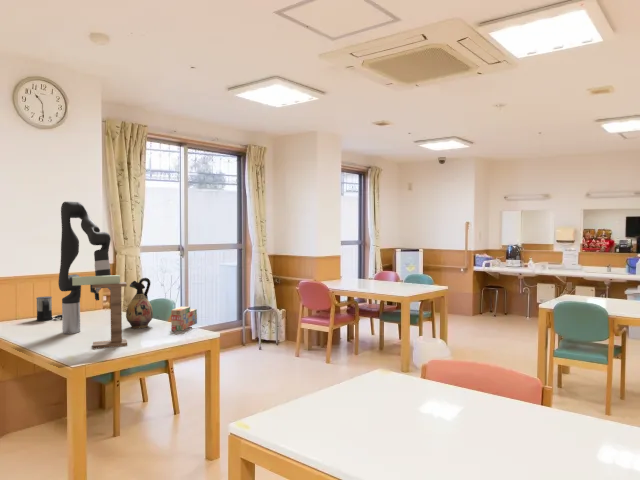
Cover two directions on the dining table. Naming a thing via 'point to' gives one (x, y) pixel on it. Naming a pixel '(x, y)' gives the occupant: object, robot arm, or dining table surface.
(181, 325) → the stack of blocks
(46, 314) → the milk frother
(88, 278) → the sage batten
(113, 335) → the walnut stand
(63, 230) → the robot arm
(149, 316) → the ceramic jug
